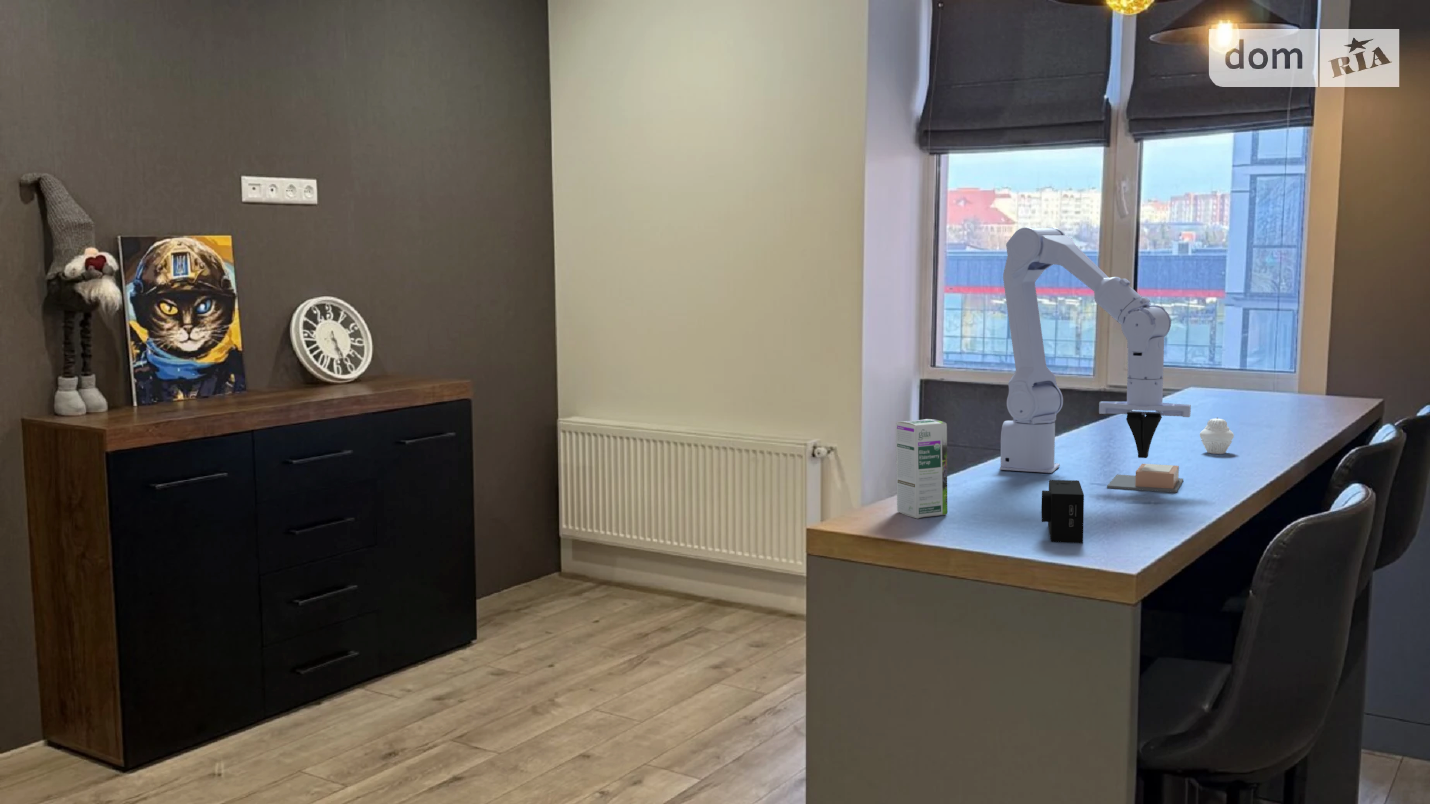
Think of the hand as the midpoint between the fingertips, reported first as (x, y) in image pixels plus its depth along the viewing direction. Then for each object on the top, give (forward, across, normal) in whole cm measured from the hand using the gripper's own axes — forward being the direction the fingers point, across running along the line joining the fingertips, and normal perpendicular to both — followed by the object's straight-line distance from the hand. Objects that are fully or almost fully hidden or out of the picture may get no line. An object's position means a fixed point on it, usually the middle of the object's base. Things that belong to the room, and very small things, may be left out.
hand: (1143, 457), depth 203 cm
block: (+3, -1, 0) cm, 3 cm away
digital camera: (+5, -6, -41) cm, 42 cm away
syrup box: (+5, -28, -36) cm, 46 cm away
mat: (+5, 0, 0) cm, 5 cm away
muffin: (+5, +9, +38) cm, 39 cm away
